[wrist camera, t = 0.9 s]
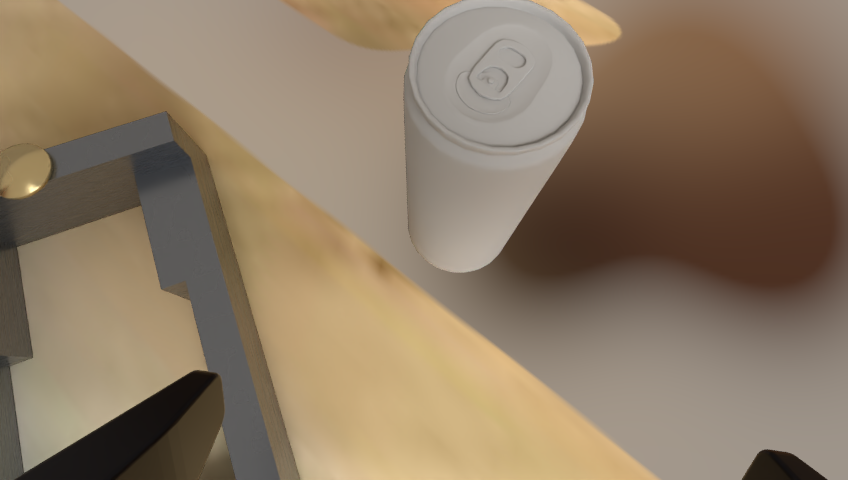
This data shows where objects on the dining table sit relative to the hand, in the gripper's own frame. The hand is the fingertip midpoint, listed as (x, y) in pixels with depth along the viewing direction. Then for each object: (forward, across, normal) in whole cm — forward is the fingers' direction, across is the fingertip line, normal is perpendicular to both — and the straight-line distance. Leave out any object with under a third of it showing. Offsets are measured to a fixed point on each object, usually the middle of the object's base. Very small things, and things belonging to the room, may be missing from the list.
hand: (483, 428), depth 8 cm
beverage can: (+15, 0, +3) cm, 16 cm away
